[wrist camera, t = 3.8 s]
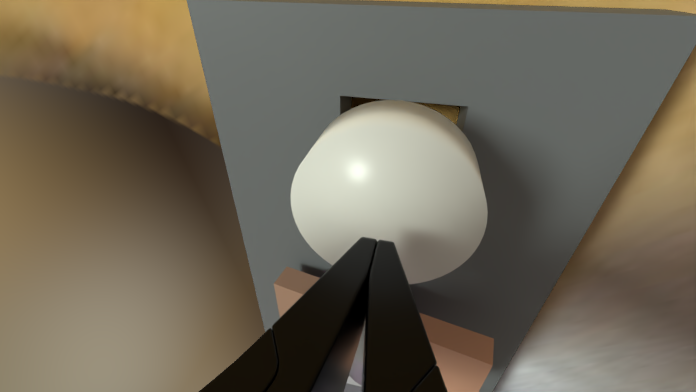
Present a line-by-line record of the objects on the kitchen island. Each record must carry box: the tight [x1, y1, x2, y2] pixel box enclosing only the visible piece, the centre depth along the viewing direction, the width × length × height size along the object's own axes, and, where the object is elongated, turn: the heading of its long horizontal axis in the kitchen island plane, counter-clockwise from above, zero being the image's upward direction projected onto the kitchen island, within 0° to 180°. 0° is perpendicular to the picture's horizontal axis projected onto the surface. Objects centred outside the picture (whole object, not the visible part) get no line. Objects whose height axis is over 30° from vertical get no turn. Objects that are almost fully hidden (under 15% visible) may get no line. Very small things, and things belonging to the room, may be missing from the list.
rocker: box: [274, 267, 494, 392], centre depth 16 cm, size 10×5×3 cm, turn 89°
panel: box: [187, 0, 696, 392], centre depth 18 cm, size 15×27×2 cm, turn 179°
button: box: [291, 100, 488, 284], centre depth 11 cm, size 6×6×4 cm
